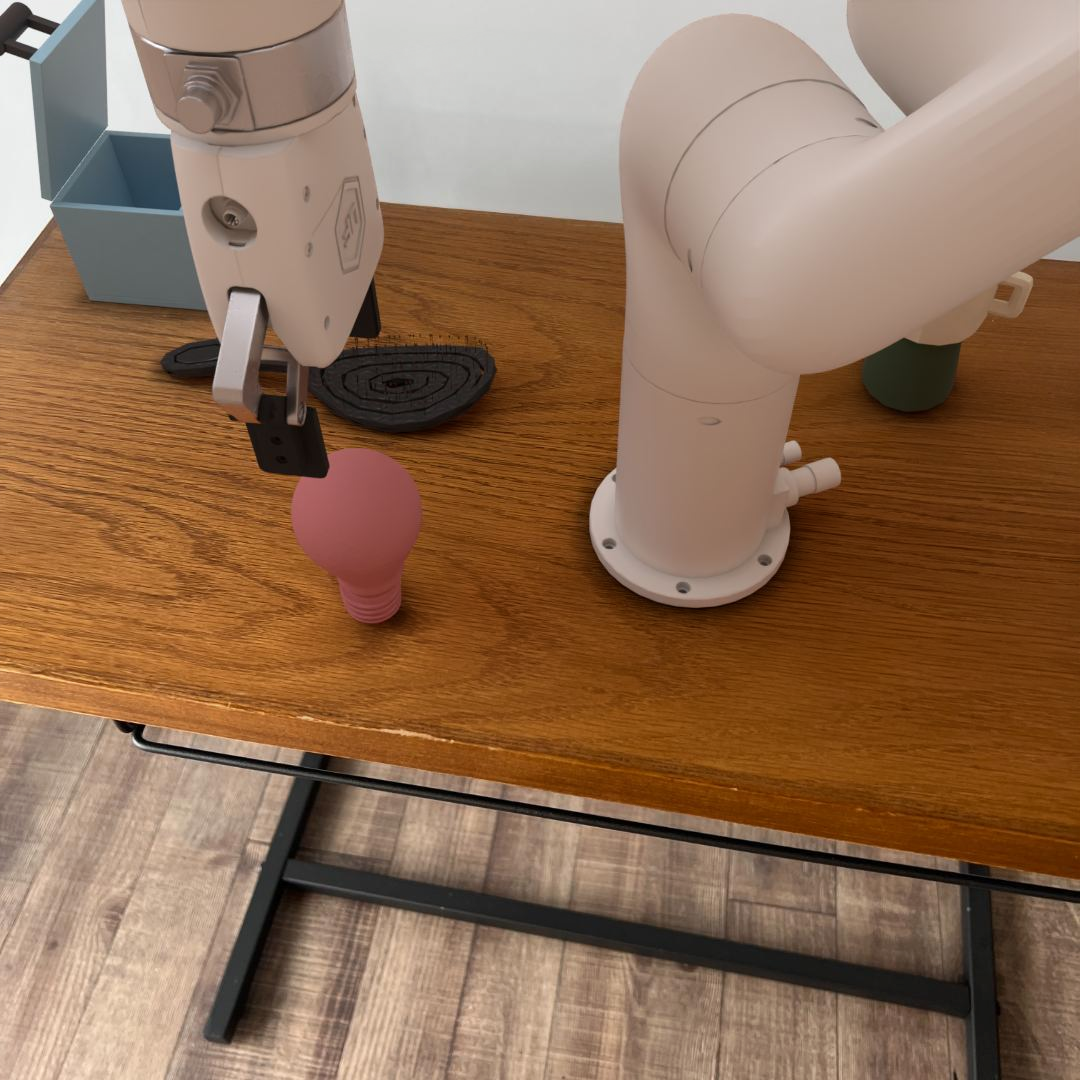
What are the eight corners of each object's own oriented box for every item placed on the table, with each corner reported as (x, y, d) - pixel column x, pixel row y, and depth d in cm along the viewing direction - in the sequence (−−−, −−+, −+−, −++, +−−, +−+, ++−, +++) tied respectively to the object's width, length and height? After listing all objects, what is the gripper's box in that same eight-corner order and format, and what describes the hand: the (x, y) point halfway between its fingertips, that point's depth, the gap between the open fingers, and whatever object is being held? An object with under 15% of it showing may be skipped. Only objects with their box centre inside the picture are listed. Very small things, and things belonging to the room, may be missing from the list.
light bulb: (419, 544, 69) (397, 408, 59) (449, 632, 65) (430, 500, 55) (309, 573, 67) (268, 439, 58) (332, 665, 63) (291, 536, 54)
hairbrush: (175, 300, 80) (504, 320, 76) (190, 338, 83) (509, 360, 79) (129, 376, 75) (479, 402, 71) (148, 414, 78) (485, 442, 74)
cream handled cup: (990, 376, 78) (1054, 220, 67) (972, 442, 73) (1037, 287, 63) (840, 337, 80) (880, 182, 70) (815, 398, 76) (853, 244, 66)
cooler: (255, 232, 90) (230, 138, 83) (213, 311, 84) (183, 215, 77) (138, 223, 91) (105, 129, 84) (89, 300, 85) (48, 205, 78)
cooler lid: (104, -10, 76) (26, -38, 75) (41, 63, 69) (-45, 33, 69) (108, 126, 84) (38, 102, 83) (52, 202, 78) (-25, 176, 77)
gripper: (275, 198, 34) (354, 544, 47) (402, -44, 44) (437, 293, 58) (47, 179, 34) (188, 525, 48) (227, -54, 45) (301, 281, 58)
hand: (324, 398), depth 53 cm, fingers open, 9 cm apart
